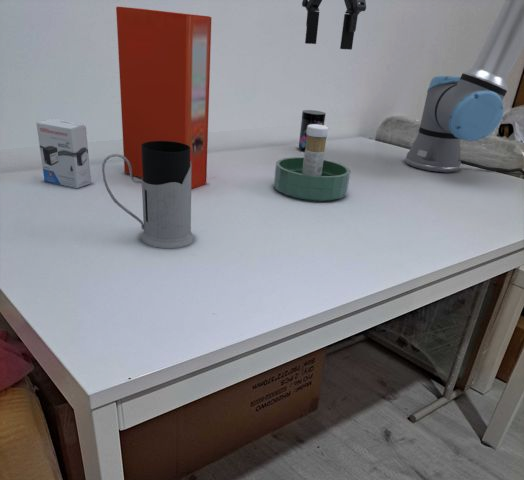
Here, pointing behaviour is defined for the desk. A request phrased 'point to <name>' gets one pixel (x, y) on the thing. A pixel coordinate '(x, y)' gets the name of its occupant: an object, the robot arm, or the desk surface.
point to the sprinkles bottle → (315, 149)
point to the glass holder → (163, 193)
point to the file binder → (164, 83)
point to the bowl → (311, 180)
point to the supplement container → (308, 119)
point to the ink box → (64, 152)
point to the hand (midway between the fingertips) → (327, 46)
